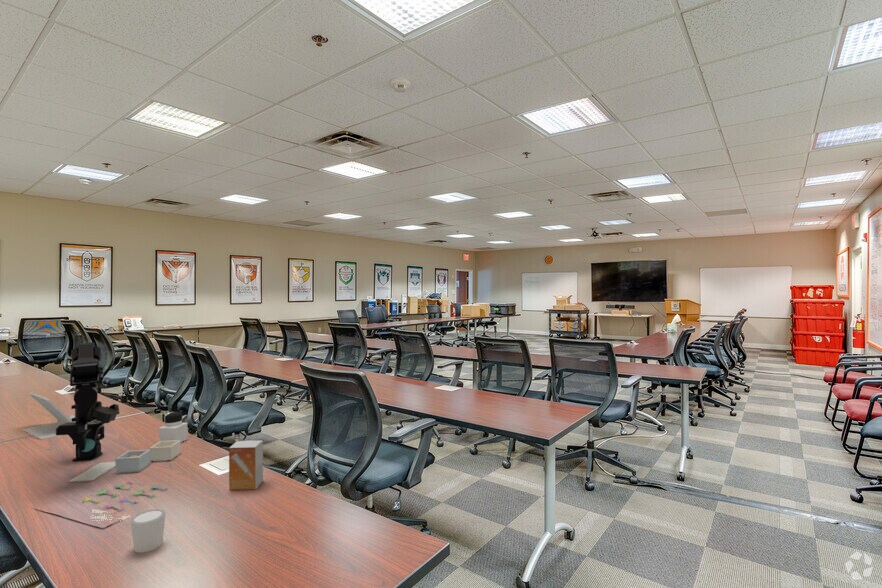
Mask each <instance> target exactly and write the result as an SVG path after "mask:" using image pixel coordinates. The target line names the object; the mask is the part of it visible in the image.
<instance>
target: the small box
mask: <svg viewBox="0 0 882 588" xmlns="http://www.w3.org/2000/svg"><path fill="white" fill-rule="evenodd" d="M263 481H264V441H263V440H237V441H235V442H234V443H233V444H232V445H231V446H229V448H228V484H229V485H228V488H229V491H235V490H236V491H237V490H257V488H258V487H259V486H260V485H261V484H262V482H263Z"/></svg>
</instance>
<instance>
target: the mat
mask: <svg viewBox="0 0 882 588" xmlns="http://www.w3.org/2000/svg"><path fill="white" fill-rule="evenodd" d="M114 468H116V461H107V462H99V463H97V464H95V465H94V466H92V467H91V468H89V469H87V470H85V471H83V472H82V473H80V474H79V475H77V476H75V477H74V478H72V479H70V480H68V483H81V482H82V483H83V482H93V481H96V480H97V479H98V478H100V477H101V476H103V475H105V474H106V473H108V472H109V471H111V470H112V469H114Z"/></svg>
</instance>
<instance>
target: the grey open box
mask: <svg viewBox="0 0 882 588" xmlns="http://www.w3.org/2000/svg"><path fill="white" fill-rule="evenodd" d="M133 455H137V456H138V457H131V456H133ZM115 462H116V466H115V475H117V474H118V475H119V474H131V473H132V474H133V473H134V474H135V473H140V472H141V470H142V471H143V470H145V467H146V466H147V467H148V466H149V464H150V465H151V464H152V462H151V453H150V449H142V450H141V449H140V450H139V449H138V450H128V451H126V452H124V453H122V454H121V455H119V456H118V457H116V458H115ZM147 467H146V468H147Z"/></svg>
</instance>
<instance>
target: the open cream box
mask: <svg viewBox="0 0 882 588" xmlns="http://www.w3.org/2000/svg"><path fill="white" fill-rule="evenodd" d="M181 444H182V443H181V440H173V441H160V442H159V441H158V442H156V443H155V444H154V445H151V447H149V450H150V453H151V461H160V462H168V461H167V460H172V459H173V460H175V459H176V458H177V457H178V456H180V455H181V454H182V447H181ZM180 453H181V454H180ZM179 454H180V455H179ZM177 455H178V456H177ZM176 456H177V457H176ZM175 457H176V458H175ZM173 460H172V461H173Z"/></svg>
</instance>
